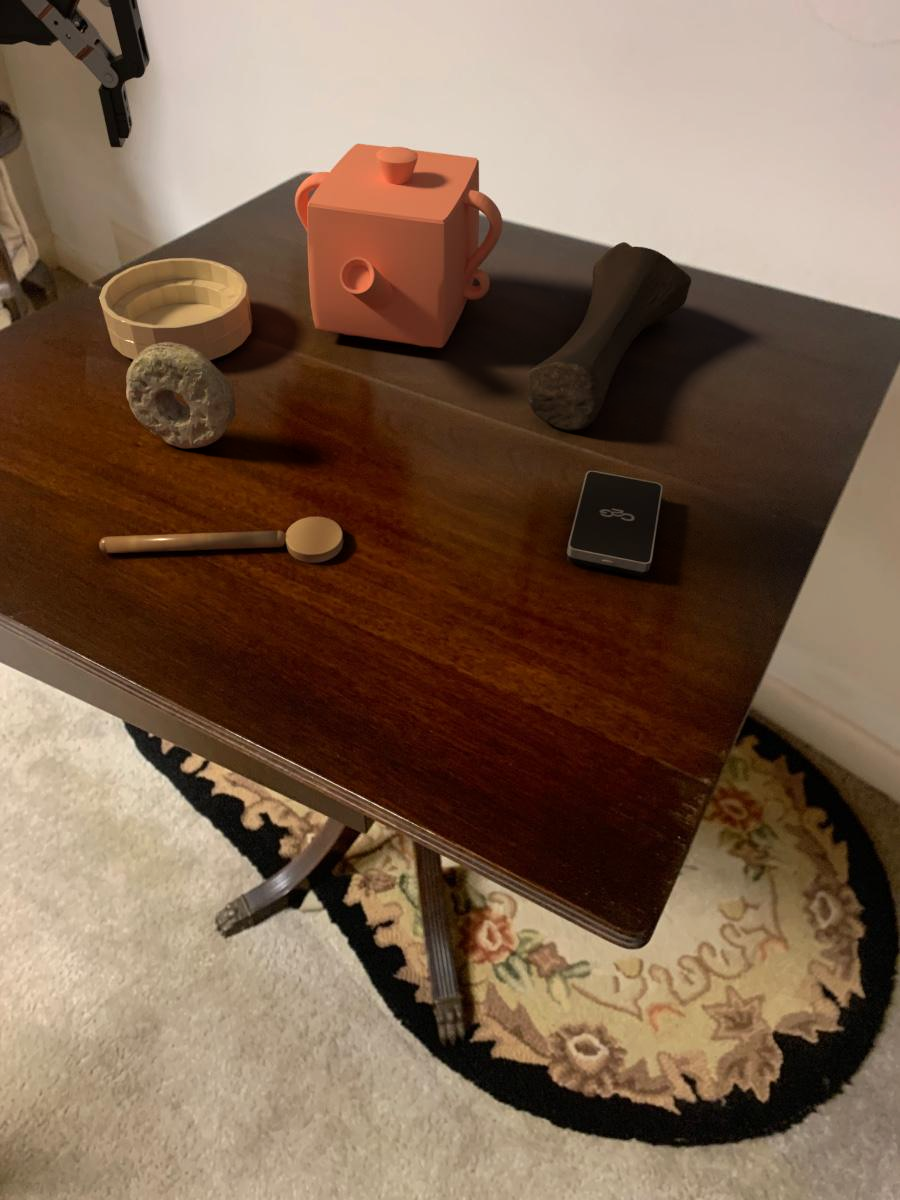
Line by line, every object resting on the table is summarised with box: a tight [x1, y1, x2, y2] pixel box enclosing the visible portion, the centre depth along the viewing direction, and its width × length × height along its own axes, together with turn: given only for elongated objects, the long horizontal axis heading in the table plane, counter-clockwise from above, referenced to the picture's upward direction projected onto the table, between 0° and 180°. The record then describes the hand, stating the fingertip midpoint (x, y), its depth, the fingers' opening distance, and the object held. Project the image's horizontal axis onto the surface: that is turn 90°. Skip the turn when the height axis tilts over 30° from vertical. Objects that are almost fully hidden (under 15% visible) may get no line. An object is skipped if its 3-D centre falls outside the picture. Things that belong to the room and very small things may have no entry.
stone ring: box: [125, 342, 236, 449], centre depth 81 cm, size 10×4×10 cm, turn 73°
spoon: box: [98, 516, 344, 564], centre depth 74 cm, size 20×5×1 cm, turn 95°
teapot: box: [294, 143, 503, 349], centre depth 94 cm, size 25×23×18 cm
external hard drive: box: [566, 470, 663, 578], centre depth 77 cm, size 7×11×2 cm, turn 165°
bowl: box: [98, 257, 253, 362], centre depth 96 cm, size 15×15×5 cm
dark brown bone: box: [526, 241, 692, 432], centre depth 94 cm, size 11×10×28 cm
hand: (55, 142), depth 61 cm, fingers open, 8 cm apart
